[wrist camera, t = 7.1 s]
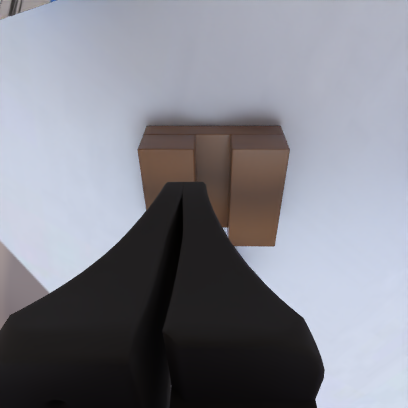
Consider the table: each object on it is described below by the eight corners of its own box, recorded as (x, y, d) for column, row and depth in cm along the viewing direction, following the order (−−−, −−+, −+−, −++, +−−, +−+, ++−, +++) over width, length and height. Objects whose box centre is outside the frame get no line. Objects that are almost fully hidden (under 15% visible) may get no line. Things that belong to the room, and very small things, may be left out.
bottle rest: (268, 217, 24) (274, 246, 22) (157, 216, 24) (151, 245, 22) (281, 125, 20) (290, 149, 18) (146, 125, 20) (137, 149, 18)
